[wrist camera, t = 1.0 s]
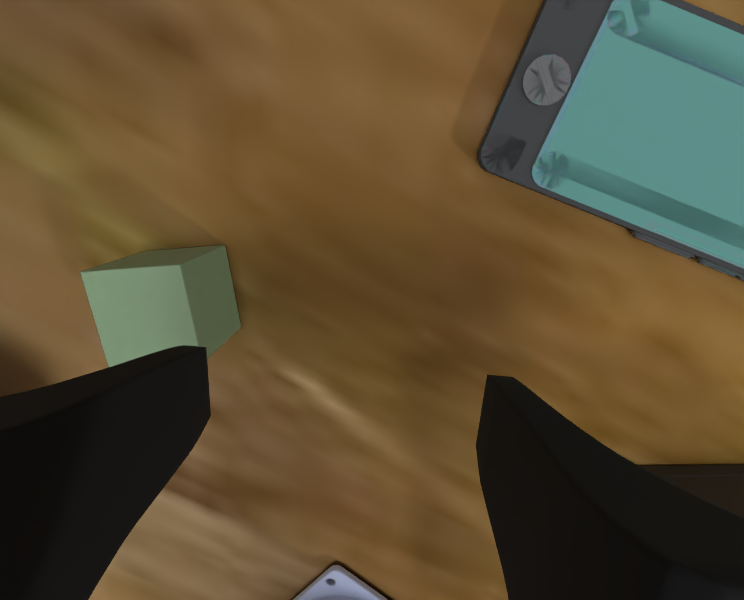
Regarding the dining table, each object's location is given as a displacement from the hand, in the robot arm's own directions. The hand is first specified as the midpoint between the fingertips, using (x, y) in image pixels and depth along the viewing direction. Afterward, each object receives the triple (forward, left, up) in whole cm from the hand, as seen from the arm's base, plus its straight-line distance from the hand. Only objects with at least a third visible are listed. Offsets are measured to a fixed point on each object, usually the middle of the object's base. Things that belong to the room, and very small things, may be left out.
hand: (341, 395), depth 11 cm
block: (-5, +7, -9) cm, 12 cm away
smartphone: (+13, -5, -9) cm, 16 cm away
